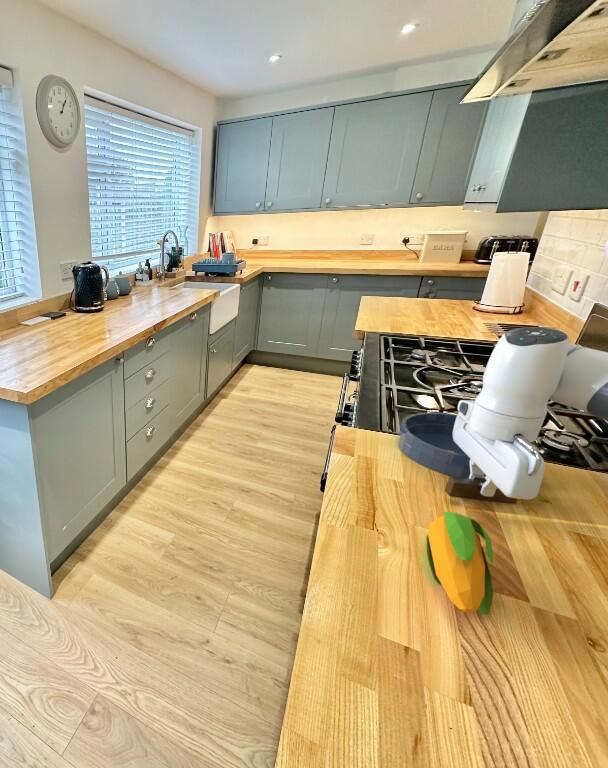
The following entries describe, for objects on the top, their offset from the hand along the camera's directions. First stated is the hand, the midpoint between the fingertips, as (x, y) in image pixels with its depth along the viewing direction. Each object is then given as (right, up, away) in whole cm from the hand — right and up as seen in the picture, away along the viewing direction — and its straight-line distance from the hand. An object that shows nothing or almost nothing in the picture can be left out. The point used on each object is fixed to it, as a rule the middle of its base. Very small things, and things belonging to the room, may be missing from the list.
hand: (480, 488), depth 77 cm
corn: (-18, -10, -15) cm, 25 cm away
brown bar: (0, -2, +1) cm, 2 cm away
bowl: (+8, +4, +14) cm, 16 cm away
